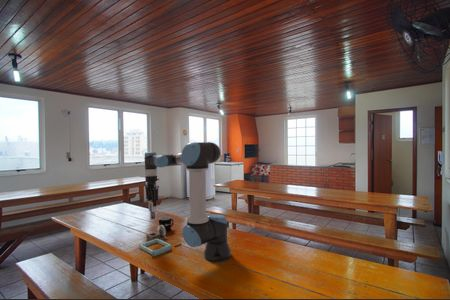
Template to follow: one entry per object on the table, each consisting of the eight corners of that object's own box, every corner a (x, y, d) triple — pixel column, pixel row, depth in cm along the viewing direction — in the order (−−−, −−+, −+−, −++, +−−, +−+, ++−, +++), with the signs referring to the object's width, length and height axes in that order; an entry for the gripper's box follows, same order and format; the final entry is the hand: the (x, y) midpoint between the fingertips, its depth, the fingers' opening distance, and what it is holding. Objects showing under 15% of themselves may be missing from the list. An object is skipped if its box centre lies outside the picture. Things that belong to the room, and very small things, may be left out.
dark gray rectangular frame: (181, 244, 160) (181, 243, 160) (176, 247, 156) (176, 246, 156) (166, 240, 168) (166, 239, 168) (160, 242, 164) (160, 242, 164)
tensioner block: (166, 238, 170) (166, 225, 170) (151, 244, 161) (150, 230, 161) (160, 236, 176) (159, 223, 175) (144, 241, 167) (144, 228, 167)
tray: (171, 249, 153) (171, 244, 153) (153, 256, 144) (153, 251, 144) (157, 243, 163) (157, 238, 163) (139, 249, 154) (139, 244, 154)
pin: (156, 218, 167) (155, 200, 166) (152, 219, 164) (151, 201, 164) (153, 217, 169) (152, 199, 168) (149, 218, 166) (148, 200, 166)
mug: (164, 234, 178) (163, 220, 178) (156, 232, 184) (156, 218, 184) (177, 230, 187) (177, 216, 187) (169, 227, 193) (169, 214, 193)
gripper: (163, 175, 163) (164, 211, 164) (149, 174, 174) (151, 207, 175) (152, 176, 158) (154, 214, 158) (139, 175, 169) (141, 210, 169)
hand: (152, 210), depth 166 cm, fingers closed on pin, 3 cm apart
